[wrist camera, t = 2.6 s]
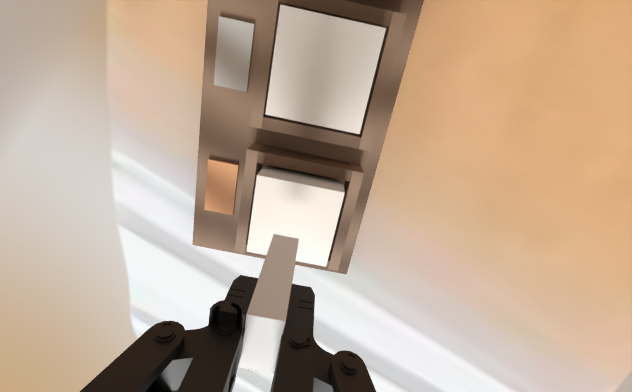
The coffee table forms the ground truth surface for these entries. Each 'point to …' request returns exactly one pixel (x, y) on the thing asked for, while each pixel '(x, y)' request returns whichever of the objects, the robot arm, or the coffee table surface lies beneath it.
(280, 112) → the button middle
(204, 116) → the button board
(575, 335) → the coffee table surface
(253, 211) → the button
